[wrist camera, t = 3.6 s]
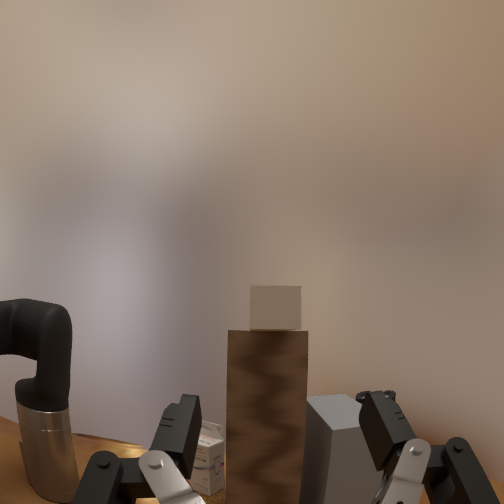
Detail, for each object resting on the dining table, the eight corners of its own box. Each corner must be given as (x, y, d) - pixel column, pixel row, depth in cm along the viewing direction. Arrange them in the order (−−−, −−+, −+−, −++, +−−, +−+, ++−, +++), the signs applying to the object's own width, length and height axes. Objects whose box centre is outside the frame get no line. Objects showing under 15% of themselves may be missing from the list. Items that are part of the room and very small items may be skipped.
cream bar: (249, 328, 19) (250, 285, 19) (251, 332, 43) (252, 313, 44) (301, 329, 19) (300, 286, 19) (273, 332, 43) (274, 314, 44)
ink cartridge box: (174, 482, 38) (170, 419, 42) (190, 475, 42) (188, 415, 46) (210, 497, 34) (208, 431, 38) (225, 487, 38) (225, 424, 42)
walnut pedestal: (227, 555, 18) (228, 330, 27) (235, 496, 35) (237, 332, 44) (290, 555, 18) (308, 330, 27) (280, 496, 35) (287, 332, 44)
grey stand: (313, 553, 18) (332, 429, 24) (296, 495, 35) (303, 396, 41) (364, 543, 18) (391, 420, 24) (333, 491, 35) (344, 393, 41)
